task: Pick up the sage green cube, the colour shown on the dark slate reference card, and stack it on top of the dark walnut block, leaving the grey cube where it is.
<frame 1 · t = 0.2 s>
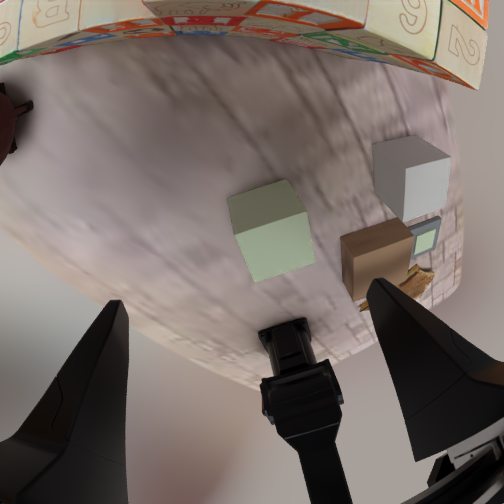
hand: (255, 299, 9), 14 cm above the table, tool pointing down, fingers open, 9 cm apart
sage cube: (264, 212, 24), on the table
shard: (396, 289, 36), on the table
reference card: (421, 237, 29), on the table
walnut block: (368, 249, 29), on the table
grey cube: (395, 163, 22), on the table
mate gourd: (8, 110, 13), on the table
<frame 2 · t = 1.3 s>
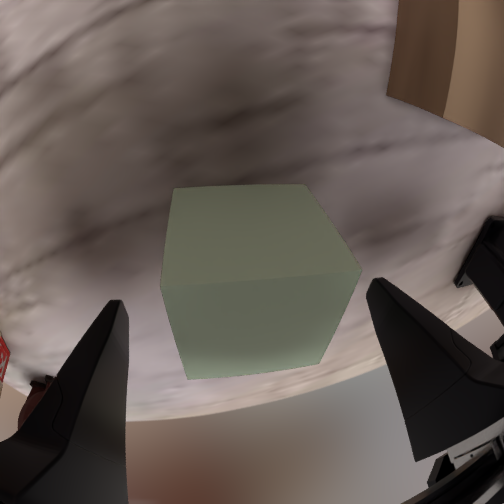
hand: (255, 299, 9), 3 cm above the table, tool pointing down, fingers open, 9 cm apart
sage cube: (239, 237, 12), on the table
walnut block: (450, 48, 7), on the table
mate gourd: (53, 385, 19), on the table
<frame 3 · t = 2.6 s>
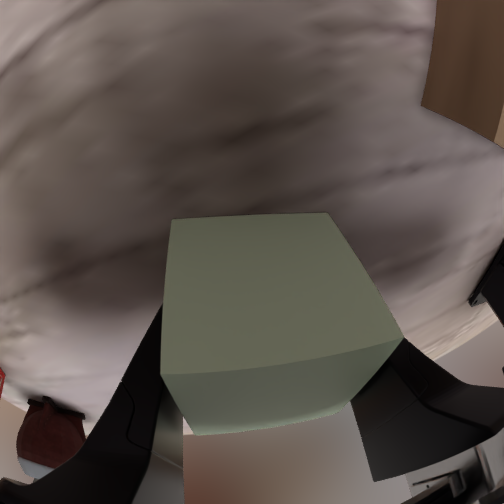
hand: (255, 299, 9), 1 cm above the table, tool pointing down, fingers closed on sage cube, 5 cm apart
sage cube: (249, 273, 10), on the table, touching gripper
walnut block: (485, 57, 6), on the table
mate gourd: (51, 404, 18), on the table
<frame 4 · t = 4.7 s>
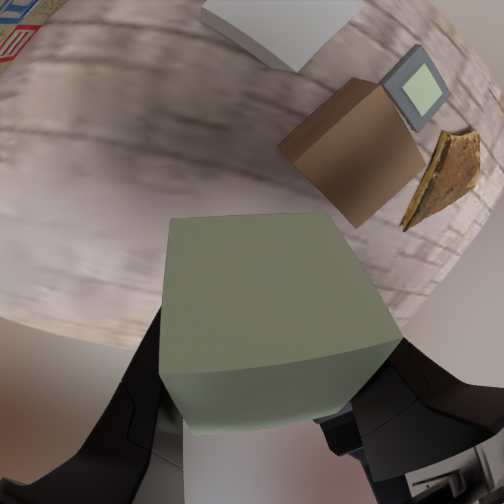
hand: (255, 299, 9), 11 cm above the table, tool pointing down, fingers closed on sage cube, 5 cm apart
sage cube: (248, 273, 10), point 10 cm above the table, touching gripper
shard: (443, 177, 21), on the table
reference card: (416, 87, 15), on the table
walnut block: (344, 143, 18), on the table
grey cube: (263, 15, 11), on the table
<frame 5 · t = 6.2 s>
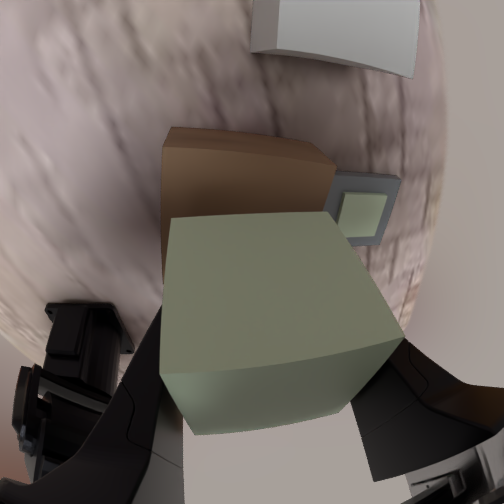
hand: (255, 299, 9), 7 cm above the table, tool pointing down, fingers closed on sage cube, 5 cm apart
sage cube: (249, 273, 10), point 6 cm above the table, touching gripper
reference card: (354, 209, 16), on the table
walnut block: (233, 192, 15), on the table
grey cube: (306, 12, 9), on the table
when the fingers open (6 cm above the table, at t = 7.2 s): sage cube drops 2 cm, resting on walnut block.
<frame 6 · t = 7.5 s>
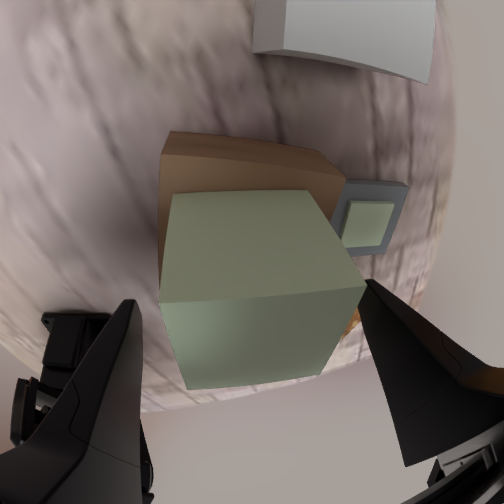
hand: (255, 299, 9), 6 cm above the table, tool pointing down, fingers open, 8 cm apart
sage cube: (239, 244, 12), point 3 cm above the table, touching walnut block
reference card: (360, 217, 16), on the table
walnut block: (234, 201, 14), on the table, touching sage cube
grey cube: (312, 10, 8), on the table
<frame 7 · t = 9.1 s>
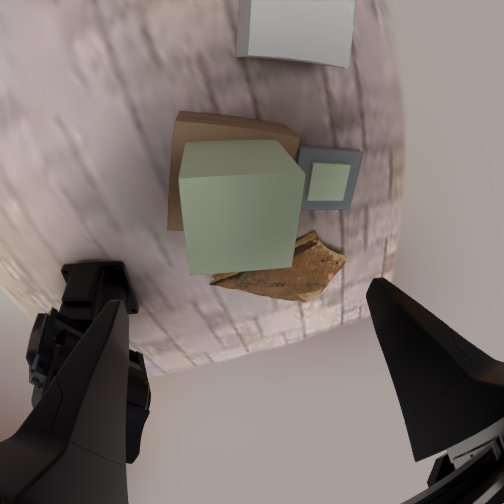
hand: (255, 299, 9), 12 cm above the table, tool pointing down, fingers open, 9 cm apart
sage cube: (231, 180, 16), point 3 cm above the table
shard: (282, 272, 27), on the table
reference card: (324, 177, 20), on the table
walnut block: (224, 163, 19), on the table
grey cube: (278, 24, 13), on the table
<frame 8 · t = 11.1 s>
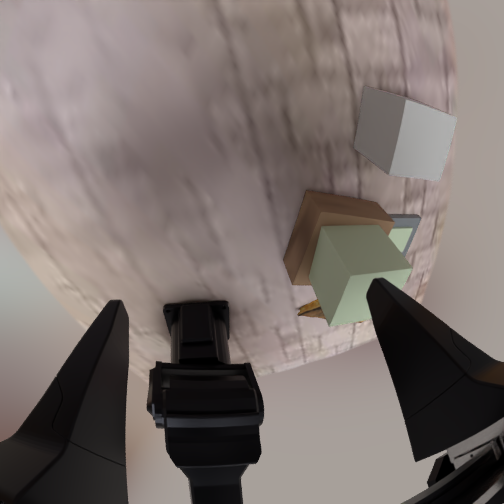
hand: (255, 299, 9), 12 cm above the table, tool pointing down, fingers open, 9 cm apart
sage cube: (343, 251, 21), point 3 cm above the table
shard: (347, 300, 32), on the table
reference card: (392, 235, 25), on the table
walnut block: (329, 228, 24), on the table
grey cube: (385, 121, 18), on the table
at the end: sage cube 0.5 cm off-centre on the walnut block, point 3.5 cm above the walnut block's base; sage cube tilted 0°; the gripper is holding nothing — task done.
